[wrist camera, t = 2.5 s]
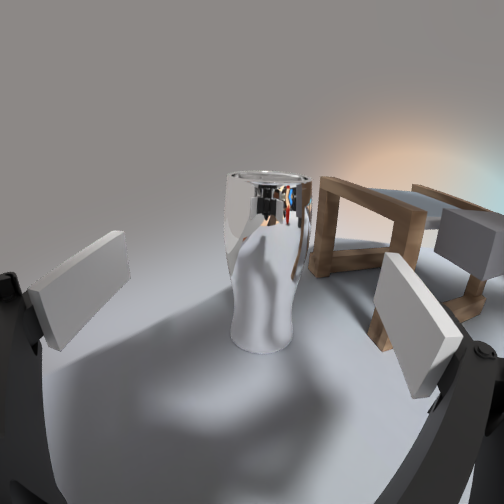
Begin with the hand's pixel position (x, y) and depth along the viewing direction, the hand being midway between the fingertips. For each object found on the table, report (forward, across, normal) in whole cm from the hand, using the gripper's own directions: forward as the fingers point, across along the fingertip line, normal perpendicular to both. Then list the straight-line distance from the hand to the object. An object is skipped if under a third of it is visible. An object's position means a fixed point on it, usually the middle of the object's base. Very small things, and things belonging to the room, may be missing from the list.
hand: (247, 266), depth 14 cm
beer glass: (+10, 0, -12) cm, 16 cm away
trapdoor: (+16, +19, -2) cm, 25 cm away
